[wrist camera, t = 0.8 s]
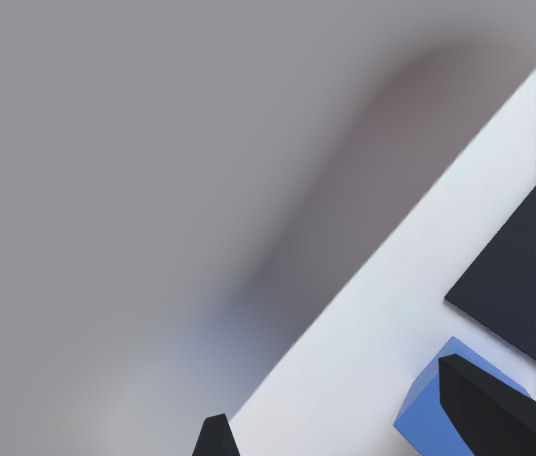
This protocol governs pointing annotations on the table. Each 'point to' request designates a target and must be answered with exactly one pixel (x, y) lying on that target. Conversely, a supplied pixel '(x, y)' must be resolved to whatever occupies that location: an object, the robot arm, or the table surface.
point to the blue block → (439, 407)
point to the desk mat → (505, 281)
